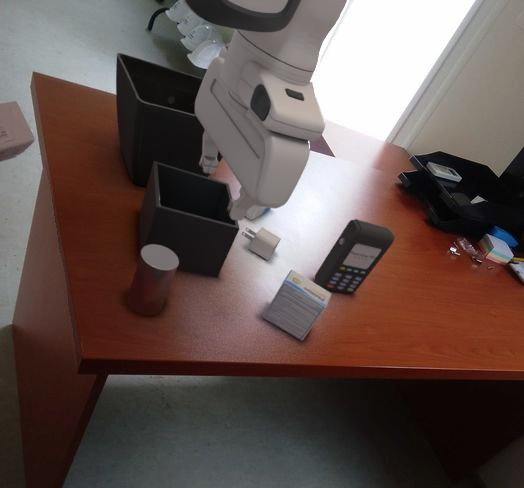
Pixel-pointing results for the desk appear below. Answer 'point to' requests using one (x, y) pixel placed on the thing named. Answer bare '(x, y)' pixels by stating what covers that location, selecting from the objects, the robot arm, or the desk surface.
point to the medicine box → (297, 305)
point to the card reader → (353, 256)
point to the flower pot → (157, 118)
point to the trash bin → (188, 218)
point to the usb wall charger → (262, 242)
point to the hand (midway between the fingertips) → (219, 192)
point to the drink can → (152, 279)
